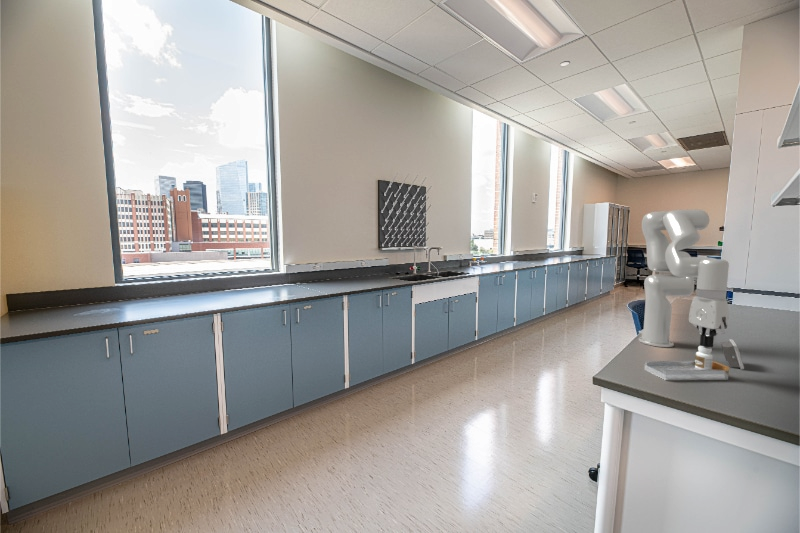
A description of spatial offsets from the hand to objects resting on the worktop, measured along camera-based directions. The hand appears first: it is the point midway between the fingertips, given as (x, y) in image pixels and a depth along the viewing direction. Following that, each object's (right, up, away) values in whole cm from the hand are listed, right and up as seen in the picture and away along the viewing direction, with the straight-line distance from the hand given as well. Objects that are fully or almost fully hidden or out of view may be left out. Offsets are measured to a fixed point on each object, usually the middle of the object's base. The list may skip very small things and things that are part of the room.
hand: (706, 346), depth 114 cm
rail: (-7, -10, +1) cm, 12 cm away
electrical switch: (+19, -10, +10) cm, 23 cm away
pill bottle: (0, -8, +1) cm, 8 cm away
